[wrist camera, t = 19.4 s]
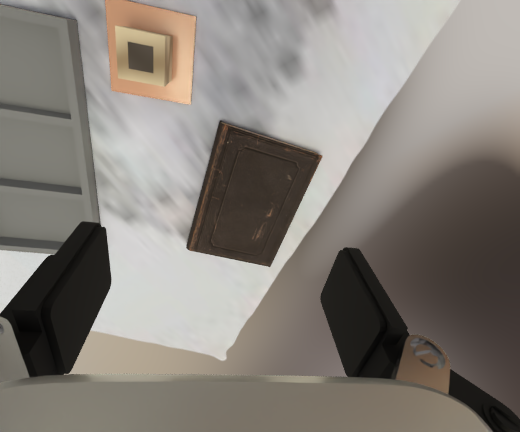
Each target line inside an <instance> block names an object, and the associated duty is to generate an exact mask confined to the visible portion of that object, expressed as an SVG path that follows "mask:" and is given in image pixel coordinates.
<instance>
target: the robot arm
mask: <svg viewBox="0 0 520 432" xmlns="http://www.w3.org/2000/svg"><path fill="white" fill-rule="evenodd" d="M110 286H111V272H110V262H109V253H108V243H107V234H106V228H105V227H101V225H100V223H96V222H86V221H82V222H80V223H79V225H78V226H77V227H76V228H75V230H74V231H73V232H72V234H71V235H70V236H69V237H68V239H67V240H66V241H65V242H64V244H63V245H62V246H61V247H60V249H59V250H58V251H57V252H56V254H55V255H50V256H48V257H47V258H46V259H45V260H44V261H43V262H42V264H41V265H40V266H39V267H38V268H37V270H36V271H35V272H34V273H33V275H32V276H31V277H30V278H29V279H28V281H27V282H26V283H25V284H24V285H23V287H22V288H21V289H20V290H19V292H18V293H17V294H16V295H15V296H14V298H13V299H12V300H11V301H10V302H9V304H8V305H7V306H6V307H5V309H4V310H3V311H2V312H1V313H0V432H520V419H519V418H518V417H517V416H516V415H515V414H514V413H513V412H512V411H511V410H510V409H509V408H507V407H506V406H505V405H503V404H502V403H501V402H499V401H498V400H496V399H495V398H493V397H492V396H490V395H489V394H487V393H486V392H484V391H483V390H481V389H480V388H478V387H477V386H475V385H474V384H472V383H471V382H469V381H468V380H466V379H465V378H463V377H461V376H460V375H458V374H457V373H455V372H454V371H452V370H451V369H450V361H449V358H448V356H447V354H446V353H445V352H444V351H443V349H442V348H441V347H440V346H439V345H438V344H436V343H435V342H434V341H432V340H431V339H429V338H427V337H425V336H422V335H418V334H412V335H409V333H408V331H407V326H406V324H405V323H404V322H403V320H402V318H401V316H400V315H399V313H398V312H397V310H396V308H395V307H394V305H393V303H392V302H391V300H390V298H389V297H388V295H387V293H386V292H385V290H384V289H383V287H382V285H381V284H380V283H379V280H378V279H377V277H376V275H375V274H374V272H373V271H372V269H371V267H370V266H369V264H368V262H367V261H366V259H365V258H364V256H363V254H362V253H361V251H360V250H359V249H357V248H347V247H346V248H344V249H343V250H340V251H339V253H338V255H337V257H336V260H335V262H334V264H333V267H332V269H331V272H330V274H329V276H328V279H327V281H326V284H325V286H324V288H323V291H322V293H321V303H322V307H323V310H324V312H325V315H326V318H327V321H328V324H329V327H330V330H331V332H332V336H333V338H334V341H335V344H336V347H337V350H338V353H339V355H340V358H341V362H342V364H343V367H344V370H345V373H346V375H347V376H348V377H327V376H325V377H324V376H323V377H322V376H321V377H320V376H270V375H269V376H268V375H195V374H187V375H186V374H70V375H64V374H68V373H70V371H71V370H72V368H73V366H74V363H75V361H76V359H77V357H78V355H79V353H80V350H81V349H82V346H83V344H84V342H85V340H86V338H87V336H88V334H89V332H90V330H91V327H92V325H93V323H94V321H95V319H96V317H97V315H98V313H99V310H100V308H101V306H102V304H103V302H104V300H105V298H106V296H107V293H108V291H109V289H110Z"/></svg>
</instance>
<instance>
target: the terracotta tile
mask: <svg viewBox="0 0 520 432" xmlns="http://www.w3.org/2000/svg"><path fill="white" fill-rule="evenodd" d="M105 5H106V19H107V33H108V47H109V61H110V75H111V89H112V91H116V92H122V93H128V94H133V95H139V96H144V97H150V98H156V99H161V100H167V101H173V102H178V103H184V104H190V105H191V95H192V79H193V63H194V47H195V31H196V16H191V15H187V14H183V13H178V12H174V11H169V10H165V9H161V8H156V7H152V6H148V5H143V4H139V3H135V2H130V1H126V0H105ZM115 26H126V27H132V28H137V29H142V30H146V31H151V32H156V33H160V34H165V35H170V36H173V52H172V81H171V82H170V83H168V84H167V85H166V86H165V87H163V86H158V85H152V84H147V83H141V82H136V81H130V80H125V79H120V78H118V70H117V53H116V36H115Z"/></svg>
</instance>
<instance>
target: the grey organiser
mask: <svg viewBox="0 0 520 432" xmlns="http://www.w3.org/2000/svg"><path fill="white" fill-rule="evenodd" d="M82 221H86V222H96V223H100V216H99V207H98V199H97V190H96V182H95V173H94V164H93V156H92V147H91V139H90V130H89V121H88V113H87V104H86V95H85V87H84V78H83V70H82V61H81V52H80V44H79V35H78V27H77V20H72V19H68V18H63V17H58V16H54V15H49V14H44V13H39V12H35V11H30V10H25V9H21V8H16V7H11V6H7V5H2V4H0V250H8V251H20V252H33V253H45V254H56V252H57V251H58V250H59V249H60V247H61V246H62V245H63V244H64V242H65V241H66V240H67V239H68V237H69V236H70V235H71V234H72V232H73V231H74V230H75V228H76V227H77V226H78V225H79V223H80V222H82Z"/></svg>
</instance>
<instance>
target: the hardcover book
mask: <svg viewBox="0 0 520 432" xmlns="http://www.w3.org/2000/svg"><path fill="white" fill-rule="evenodd" d="M321 158H322V155H319V154H318V153H315V152H312V151H309V150H306V149H303V148H300V147H297V146H294V145H291V144H288V143H284V142H281V141H278V140H275V139H272V138H269V137H266V136H263V135H260V134H257V133H254V132H250V131H247V130H244V129H241V128H238V127H235V126H232V125H229V124H226V123H223V122H221V121H220V123H219V127H218V130H217V134H216V138H215V142H214V145H213V149H212V153H211V156H210V160H209V164H208V168H207V171H206V175H205V179H204V183H203V186H202V190H201V194H200V197H199V201H198V205H197V209H196V212H195V216H194V220H193V224H192V227H191V231H190V235H189V238H188V242H187V247H186V248H187V249H188V250H190V251H195V252H200V253H205V254H210V255H215V256H220V257H224V258H229V259H234V260H239V261H244V262H249V263H254V264H259V265H264V266H268V267H270V266H271V264H272V262H273V260H274V258H275V256H276V254H277V252H278V249H279V247H280V245H281V243H282V241H283V239H284V237H285V235H286V232H287V230H288V228H289V226H290V224H291V222H292V220H293V218H294V215H295V213H296V211H297V209H298V207H299V205H300V203H301V201H302V199H303V196H304V194H305V192H306V190H307V188H308V186H309V184H310V182H311V179H312V177H313V175H314V173H315V171H316V169H317V167H318V165H319V162H320V160H321Z"/></svg>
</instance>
